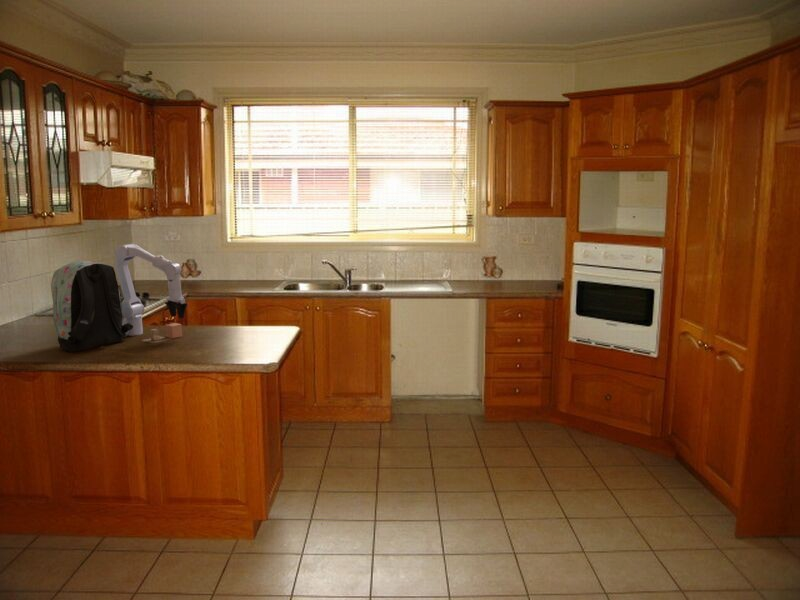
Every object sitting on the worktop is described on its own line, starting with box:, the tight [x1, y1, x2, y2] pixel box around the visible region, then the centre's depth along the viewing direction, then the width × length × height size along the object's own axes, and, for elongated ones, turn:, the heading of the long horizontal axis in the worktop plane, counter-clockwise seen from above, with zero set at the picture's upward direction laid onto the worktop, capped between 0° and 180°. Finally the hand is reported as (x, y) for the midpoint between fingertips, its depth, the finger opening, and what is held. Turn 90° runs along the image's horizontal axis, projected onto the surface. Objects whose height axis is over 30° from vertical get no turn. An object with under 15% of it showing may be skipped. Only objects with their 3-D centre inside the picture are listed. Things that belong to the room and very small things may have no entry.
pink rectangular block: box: [165, 322, 183, 339], centre depth 312 cm, size 5×5×7 cm
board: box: [141, 335, 173, 344], centre depth 307 cm, size 10×10×1 cm
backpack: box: [50, 259, 133, 353], centre depth 297 cm, size 32×24×39 cm
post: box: [150, 328, 160, 341], centre depth 306 cm, size 3×3×5 cm
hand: (177, 317), depth 312 cm, fingers open, 7 cm apart
